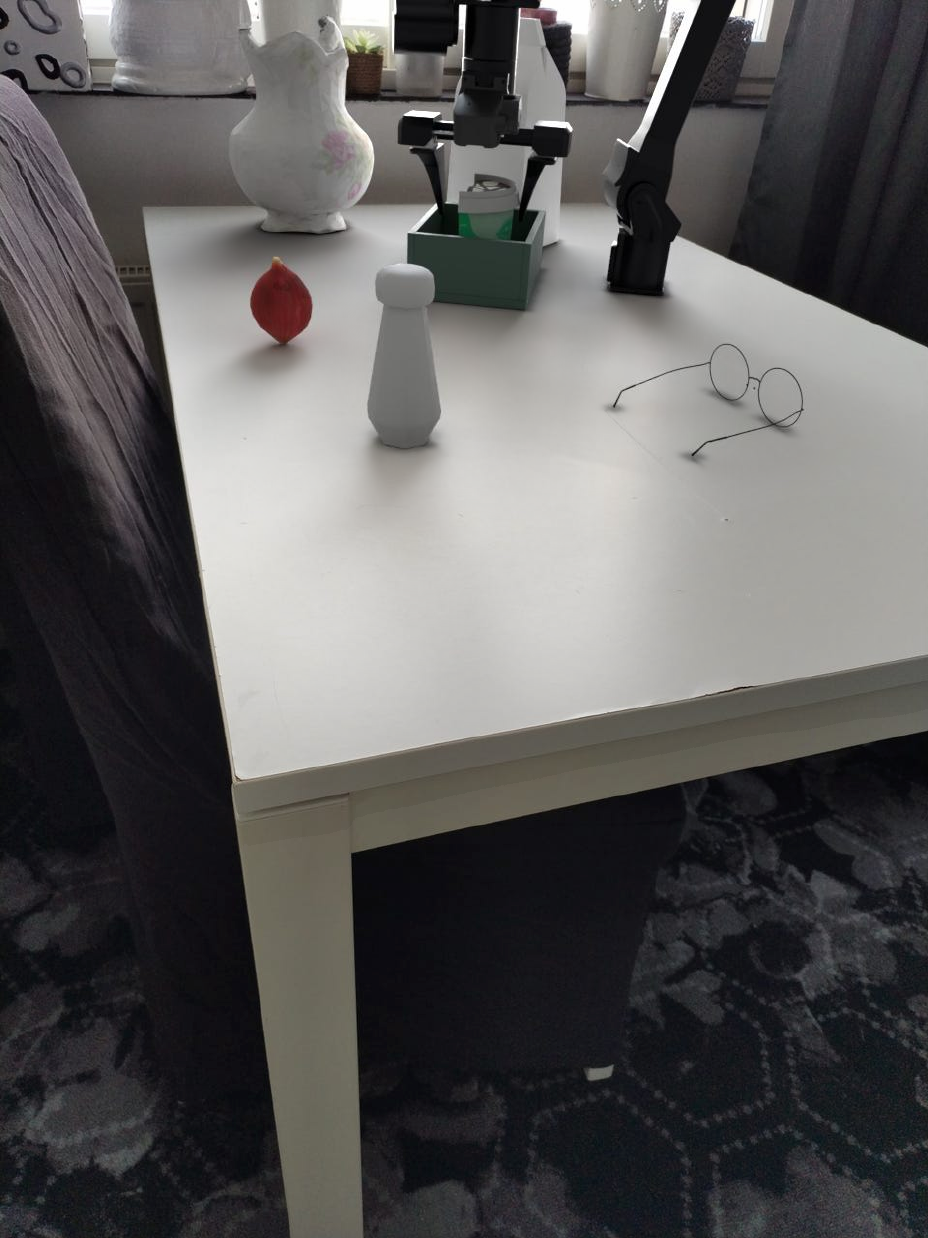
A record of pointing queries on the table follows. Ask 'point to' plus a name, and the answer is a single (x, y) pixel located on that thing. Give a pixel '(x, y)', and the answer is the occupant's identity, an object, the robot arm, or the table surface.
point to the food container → (488, 207)
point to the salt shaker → (404, 359)
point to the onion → (281, 303)
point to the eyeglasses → (729, 399)
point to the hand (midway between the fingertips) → (481, 217)
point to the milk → (539, 102)
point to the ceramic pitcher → (300, 132)
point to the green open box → (478, 259)
